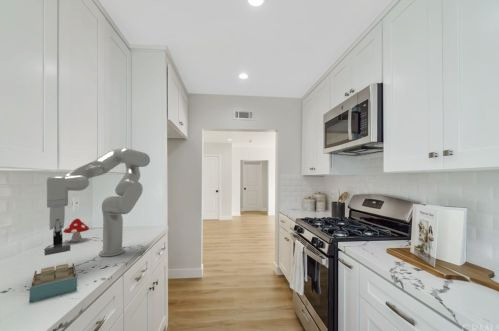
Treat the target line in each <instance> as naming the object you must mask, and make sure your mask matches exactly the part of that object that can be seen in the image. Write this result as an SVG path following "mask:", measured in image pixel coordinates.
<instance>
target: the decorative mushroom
mask: <svg viewBox="0 0 499 331" xmlns="http://www.w3.org/2000/svg"><path fill="white" fill-rule="evenodd" d="M88 230H90V227H89V226H88V225H87V224H85V222H83V221H82V220H81V219H80V218H75V219H72V221H71V223H69V225H67V227H65V229H64V230H62V233H65V234H72V236H71V239H70V240H71V242H73V243H74V242H75V243H76V242H80V241H81V240H82V235H81V233H82V232H83V233H84V232H87V231H88Z"/></svg>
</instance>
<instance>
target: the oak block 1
mask: <svg viewBox="0 0 499 331" xmlns="http://www.w3.org/2000/svg"><path fill="white" fill-rule="evenodd" d="M54 271H55V265H52V266H47V267H42V268H41V269H40V273H41V282H44V281H48V280H53V279H54Z"/></svg>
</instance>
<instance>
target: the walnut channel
mask: <svg viewBox="0 0 499 331" xmlns="http://www.w3.org/2000/svg"><path fill="white" fill-rule="evenodd" d="M75 268H76V267H75V263H72V266H71V267H70V266H69V269H68V276H66V277H62V278H57V279H56V269H54V279H53V280H48V281H44V282H41V272H40V273H38V272H37V270H35V271H34V274H33V277H32V281H31V287H33V286H38V285H42V284H47V283H51V282H55V281H60V280H64V279H69V278H73V277H77V274H76V269H75Z"/></svg>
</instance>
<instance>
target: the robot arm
mask: <svg viewBox="0 0 499 331" xmlns="http://www.w3.org/2000/svg"><path fill="white" fill-rule="evenodd" d="M150 162H151V158H150V156H149V154H147V153H146V152H143V151H139V150H134V149H132V148H126V147H124V148H115V149H112V150H110V151H108V152H107V153H104V155H102V156H100V157H98V158H97V159H95V160H93V161H90V162H88V163H86V164H84V165H82V166H79V167H77V168H75V169H73V170H72V171H69V172H68V173H66V174H65V175H62V176H61V175H57V176H56V175H55V176H54V175H53V176H48V177H47V178H46V207H47V208H49V230H50V231H52V230H54V236H52V242H53V243H52V244H53V245H58V244H62V245H63V229H64V226H65V219H66V218H65V217H66V216H65V215H66V207H68V206H69V191H71V192H72V191H73V192H74V191H76V192H77V191H78V192H79V191H80V192H81V191H84V190H85V189H87V188H88V187H89V185H90V181H89V179H92V178H94V177H95V178H96V177H99V176H103V175H105V174H107V173H109V172H110V171H111V170H113V169H115V168H116V167H117V166H118V165H120V164H124V165H125V168H126V170H125V174H124V175H123V177H122V178H121V179H120V180H119V182H118V184H117V185H116V187H115V189H114V193H115V194H116V195H114V196H113V195H112V196H111V195H110V196H107V197H106V198H105V199H104V200H103V201H102V203H101V211H102V212H101V213H102V219H103V220H102V225H103V226H102V250H101V251H99V252H98V255H99V256H100V257H106V258H107V257H114V256H115V257H116V256H119V255H122V254H124V253H126V248H125V247H123V235H124V234H123V231H124V230H123V228H124V227H123V225H124V224H123V223H124V221H123V220H124V219H123V215H128V214H129V213H130V212H132V210H133V209H134V207H135V206H136V204H137V202H138V201H139V199H140V198H141V196H142V194H143V191H144V190H143V188H144V187H143V185H142V183H141V182H139V180H141V179H140V178H141V171H140V167H141V168H143V167H144V168H146V167H147V166H149V164H150ZM55 230H56V231H55ZM55 233H56V236H55Z"/></svg>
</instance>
